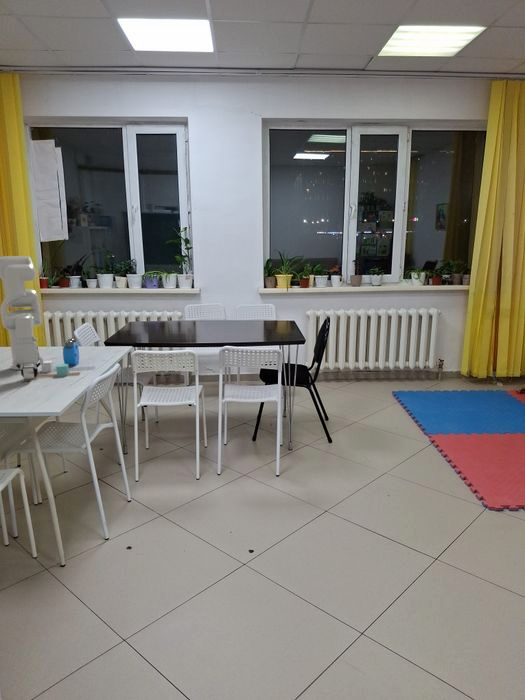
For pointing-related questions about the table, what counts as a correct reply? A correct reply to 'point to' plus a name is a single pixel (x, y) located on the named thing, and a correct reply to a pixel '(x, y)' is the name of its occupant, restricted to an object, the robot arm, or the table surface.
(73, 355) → the alarm clock
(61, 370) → the teal cube
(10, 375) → the table surface
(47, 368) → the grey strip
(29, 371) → the walnut strip
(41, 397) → the table surface
